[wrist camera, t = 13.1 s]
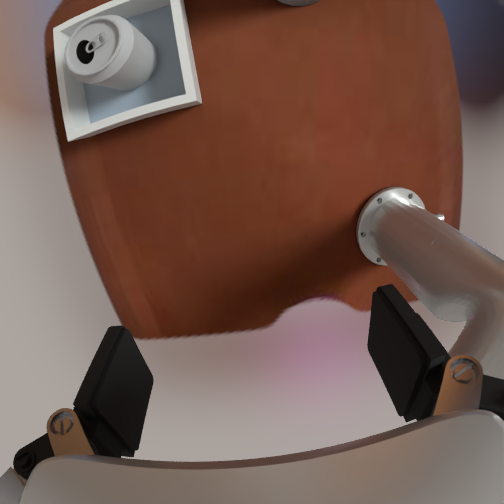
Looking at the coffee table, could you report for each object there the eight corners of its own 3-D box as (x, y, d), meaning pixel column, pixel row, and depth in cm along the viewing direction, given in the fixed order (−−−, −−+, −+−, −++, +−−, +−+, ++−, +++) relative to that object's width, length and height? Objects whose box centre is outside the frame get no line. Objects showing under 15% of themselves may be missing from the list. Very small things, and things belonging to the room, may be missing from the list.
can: (97, 58, 28) (49, 41, 17) (146, 28, 27) (114, -4, 16) (117, 101, 31) (71, 97, 20) (168, 72, 30) (140, 52, 19)
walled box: (183, -2, 26) (176, -20, 21) (202, 103, 33) (196, 100, 27) (74, 37, 26) (53, 28, 21) (89, 137, 33) (68, 141, 28)
